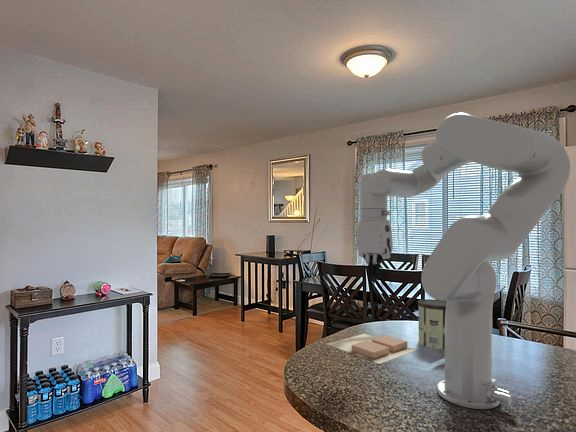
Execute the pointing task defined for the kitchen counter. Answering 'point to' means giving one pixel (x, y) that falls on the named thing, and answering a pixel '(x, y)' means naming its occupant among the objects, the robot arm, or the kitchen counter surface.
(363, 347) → the tile left
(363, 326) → the kitchen counter surface
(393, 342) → the tile right
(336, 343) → the board
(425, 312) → the coffee can
